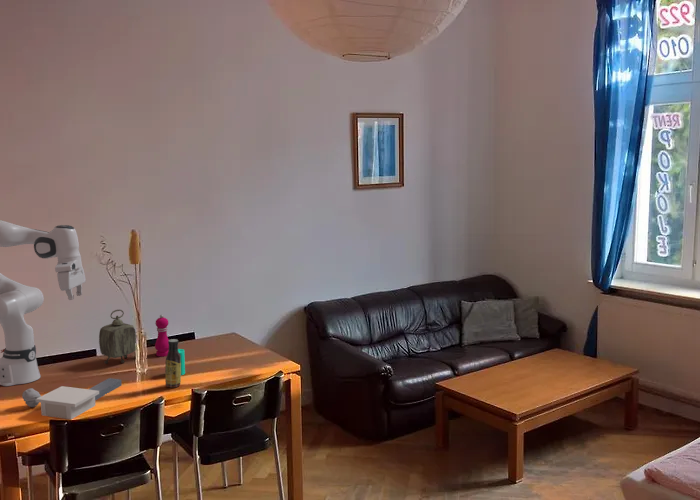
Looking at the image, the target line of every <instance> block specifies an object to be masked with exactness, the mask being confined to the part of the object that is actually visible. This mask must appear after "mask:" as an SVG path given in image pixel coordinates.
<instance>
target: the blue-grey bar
mask: <svg viewBox="0 0 700 500" xmlns="http://www.w3.org/2000/svg"><path fill="white" fill-rule="evenodd" d="M120 387H122V379H120V378H113V377H111V378H110V377H109V378H107V379H104V380H103V381H101V382H99V383H98V384H96V385H93V386H92V387H90V388H88V389H89V390H97V391H99V394H98V395H96V396H95V401H97V400H99V399H101V398H103V397H104V396H106V395H107V393H108V394H110V393H111V392H113V391H114V390H117V389H118V388H120ZM105 394H106V395H105Z"/></svg>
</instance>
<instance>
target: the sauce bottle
mask: <svg viewBox="0 0 700 500" xmlns="http://www.w3.org/2000/svg"><path fill="white" fill-rule="evenodd" d="M168 344H169V351H168V354H167V356H165V357H166V358H165V366H164V367H165V369H164V370H165V373H164V374H165V379H164V380H165V386H166V387H167V388H173V389H174V388H175V389H176V388H178V387H180V386H181V380H182V375H181V356H180V353H179V352H178V349H179V340H178V339H176V338H173V339H172V338H171V339H169V341H168Z"/></svg>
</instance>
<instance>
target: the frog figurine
mask: <svg viewBox="0 0 700 500" xmlns="http://www.w3.org/2000/svg"><path fill="white" fill-rule="evenodd" d="M21 396H22V397H21V398H22V399H23V401H24V404H25V405H26V406H28V407H29V408H34V407H35V408H36V406H38V405H39V404H40V402H36V399H37V398H39V397H41V396H42V395H41V394H40V392H39V391H37V390H35V389H34V388H27V389H26V390H24V391H23V392H22V394H21Z"/></svg>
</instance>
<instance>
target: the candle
mask: <svg viewBox="0 0 700 500" xmlns="http://www.w3.org/2000/svg"><path fill="white" fill-rule="evenodd" d="M178 352H179V353H180V356H181V376H183V375H185V374H186V361H185V360H186V358H185V349H183V348H178Z"/></svg>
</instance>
